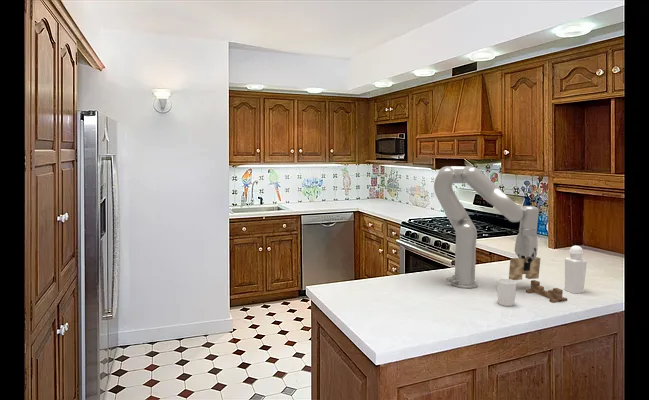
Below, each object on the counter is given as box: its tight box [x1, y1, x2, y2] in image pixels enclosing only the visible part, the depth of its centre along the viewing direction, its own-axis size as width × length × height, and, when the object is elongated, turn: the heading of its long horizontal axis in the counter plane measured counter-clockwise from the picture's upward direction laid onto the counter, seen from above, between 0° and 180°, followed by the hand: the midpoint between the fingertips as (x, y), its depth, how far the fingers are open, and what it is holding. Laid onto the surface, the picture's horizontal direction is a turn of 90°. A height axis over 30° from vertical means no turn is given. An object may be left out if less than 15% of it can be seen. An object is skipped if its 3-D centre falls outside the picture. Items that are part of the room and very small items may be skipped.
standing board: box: [525, 279, 568, 304], centre depth 200 cm, size 16×8×5 cm, turn 19°
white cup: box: [496, 278, 518, 307], centre depth 190 cm, size 8×8×10 cm
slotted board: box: [508, 256, 541, 281], centre depth 211 cm, size 16×2×10 cm, turn 109°
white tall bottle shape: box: [564, 245, 588, 294], centre depth 206 cm, size 6×6×22 cm
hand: (524, 269), depth 211 cm, fingers closed on slotted board, 2 cm apart
